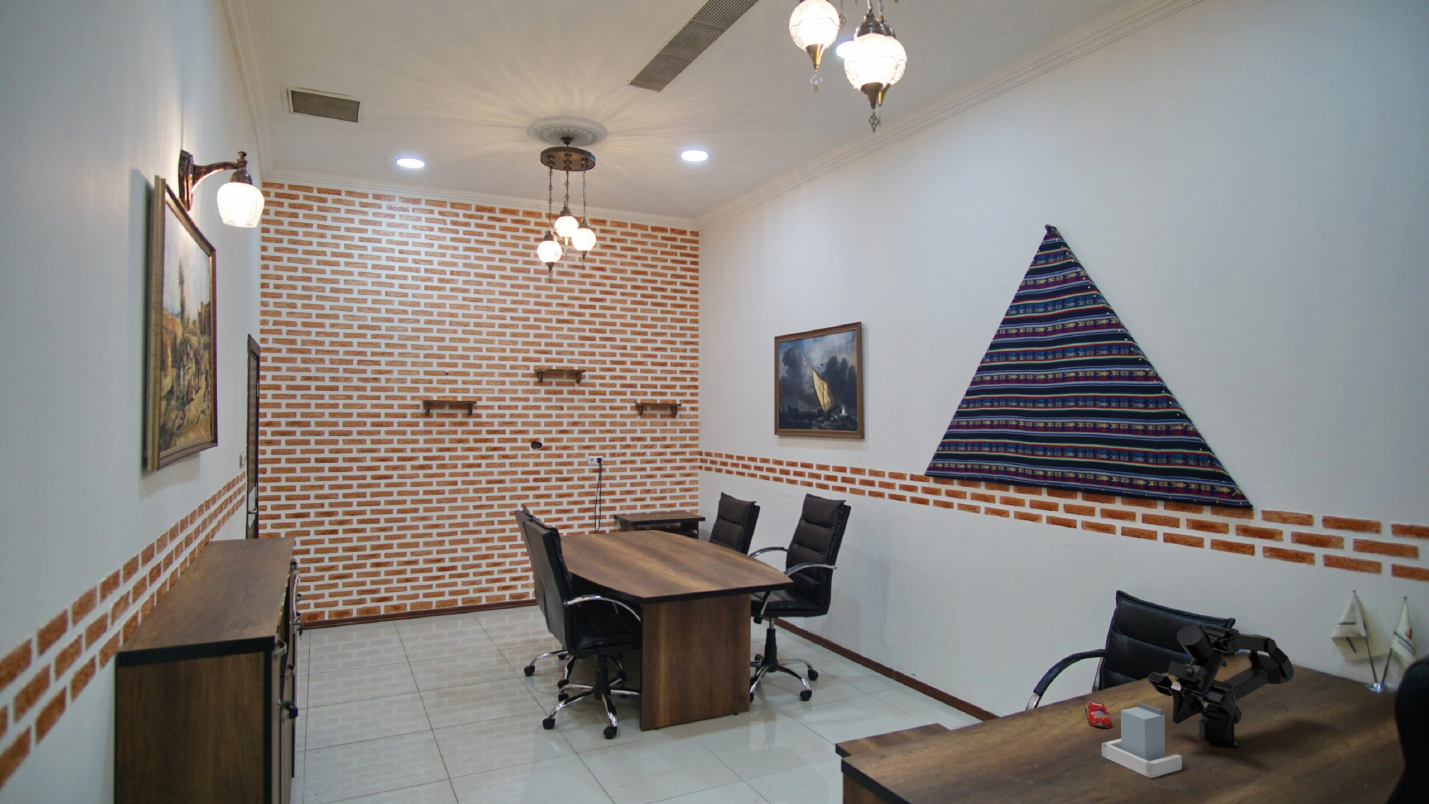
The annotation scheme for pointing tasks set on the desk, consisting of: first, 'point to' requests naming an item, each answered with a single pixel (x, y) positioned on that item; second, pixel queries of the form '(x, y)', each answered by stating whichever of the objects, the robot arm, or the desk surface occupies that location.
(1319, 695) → the desk surface
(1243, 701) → the desk surface
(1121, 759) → the bay
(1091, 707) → the race car
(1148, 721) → the pale grey upright block
